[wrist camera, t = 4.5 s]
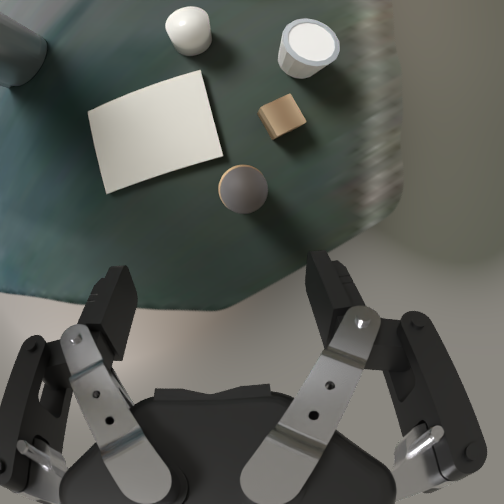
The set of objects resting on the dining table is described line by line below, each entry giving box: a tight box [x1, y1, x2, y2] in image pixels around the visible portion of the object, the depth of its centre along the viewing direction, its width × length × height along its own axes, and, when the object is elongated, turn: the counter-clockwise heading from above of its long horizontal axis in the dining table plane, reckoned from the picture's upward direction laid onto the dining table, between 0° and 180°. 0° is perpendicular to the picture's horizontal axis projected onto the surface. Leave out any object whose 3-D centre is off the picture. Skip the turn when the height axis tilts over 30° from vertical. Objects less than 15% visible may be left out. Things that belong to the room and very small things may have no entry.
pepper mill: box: [219, 165, 268, 214], centre depth 30 cm, size 4×4×13 cm
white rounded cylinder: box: [166, 7, 212, 56], centre depth 28 cm, size 5×5×6 cm
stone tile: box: [88, 70, 223, 194], centre depth 33 cm, size 16×12×1 cm
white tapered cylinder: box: [278, 18, 340, 79], centre depth 29 cm, size 7×7×7 cm
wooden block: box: [257, 94, 306, 140], centre depth 33 cm, size 4×4×4 cm
